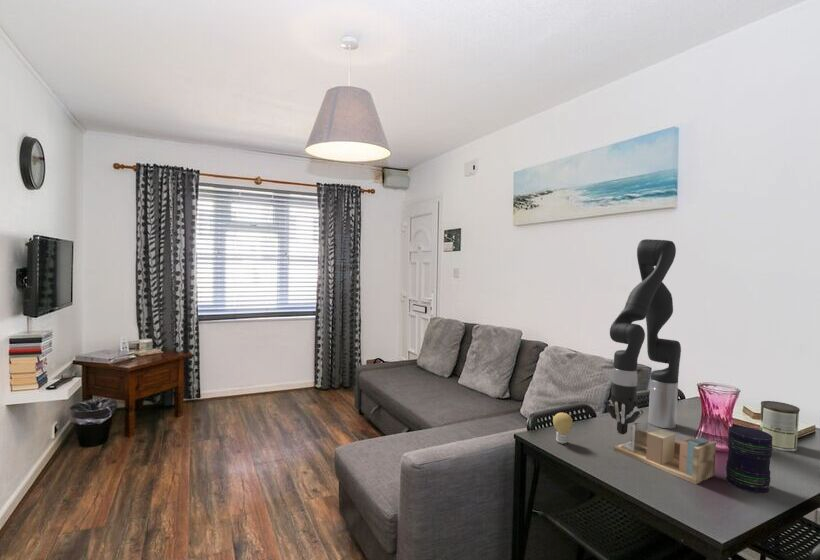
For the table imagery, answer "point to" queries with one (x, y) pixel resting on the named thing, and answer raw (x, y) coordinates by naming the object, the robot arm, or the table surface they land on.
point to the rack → (683, 459)
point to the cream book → (660, 446)
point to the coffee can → (780, 424)
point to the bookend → (637, 437)
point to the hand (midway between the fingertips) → (621, 433)
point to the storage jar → (749, 459)
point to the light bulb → (562, 426)
